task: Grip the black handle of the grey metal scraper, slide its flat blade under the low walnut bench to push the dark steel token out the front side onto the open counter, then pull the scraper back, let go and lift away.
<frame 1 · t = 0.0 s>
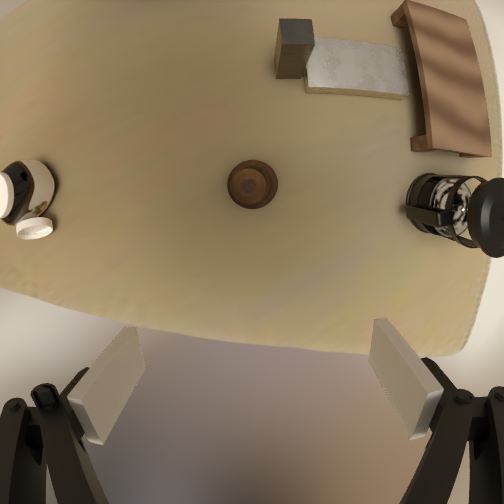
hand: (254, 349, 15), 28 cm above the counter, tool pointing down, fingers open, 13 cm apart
french press: (427, 203, 41), on the counter
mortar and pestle: (253, 184, 41), on the counter
low bench: (434, 83, 36), on the counter
spread jar: (43, 201, 42), on the counter
scraper: (287, 68, 37), on the counter
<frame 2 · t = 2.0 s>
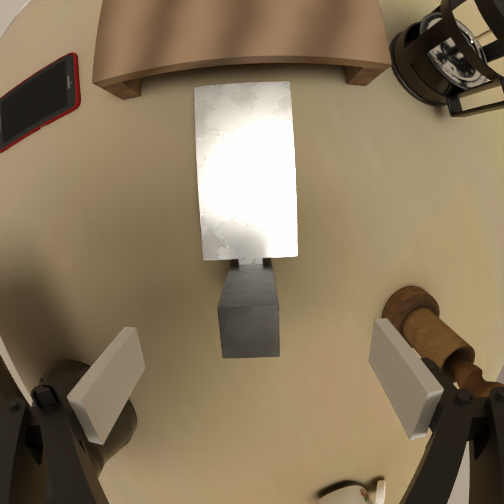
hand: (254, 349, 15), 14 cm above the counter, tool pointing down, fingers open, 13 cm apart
french press: (426, 71, 24), on the counter
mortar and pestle: (406, 313, 30), on the counter
cell phone: (35, 104, 25), on the counter
low bench: (240, 31, 24), on the counter
spread jar: (353, 487, 38), on the counter
scraper: (252, 273, 29), on the counter
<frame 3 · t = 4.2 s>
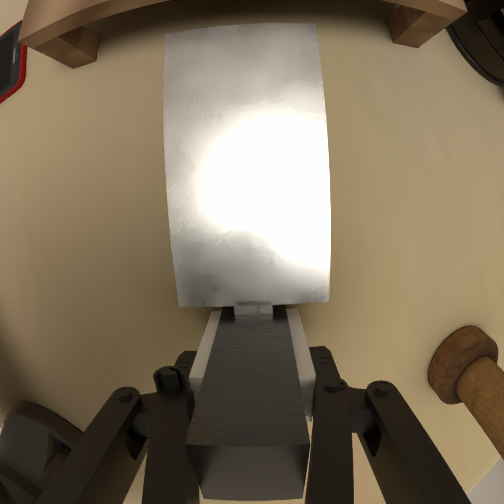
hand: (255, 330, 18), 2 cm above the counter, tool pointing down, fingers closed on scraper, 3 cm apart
french press: (485, 42, 14), on the counter
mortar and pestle: (456, 358, 20), on the counter
scraper: (255, 319, 19), on the counter, touching gripper
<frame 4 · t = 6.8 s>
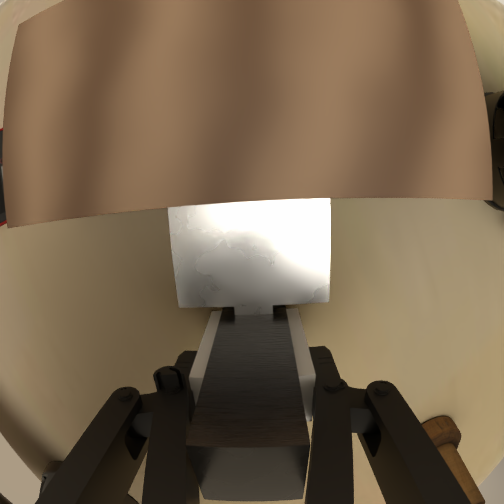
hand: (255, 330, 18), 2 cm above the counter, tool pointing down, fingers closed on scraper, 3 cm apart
french press: (501, 157, 16), on the counter
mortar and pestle: (426, 436, 23), on the counter
low bench: (239, 95, 16), on the counter
scraper: (256, 319, 19), on the counter, touching gripper
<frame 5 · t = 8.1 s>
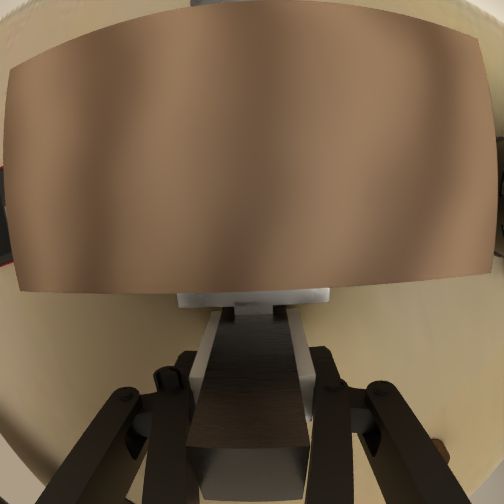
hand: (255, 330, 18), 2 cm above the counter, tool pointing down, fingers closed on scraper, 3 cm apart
low bench: (246, 150, 17), on the counter
scraper: (255, 319, 19), on the counter, touching gripper
when the fingers open (2 cm above the counter, at t = 10.3 s): scraper stays where it is, on the counter.
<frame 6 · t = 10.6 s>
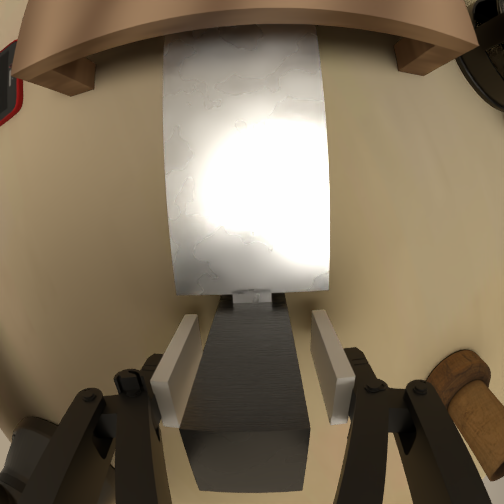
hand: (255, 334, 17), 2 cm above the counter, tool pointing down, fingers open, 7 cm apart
french press: (491, 65, 14), on the counter
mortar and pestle: (450, 379, 21), on the counter
scraper: (254, 309, 19), on the counter
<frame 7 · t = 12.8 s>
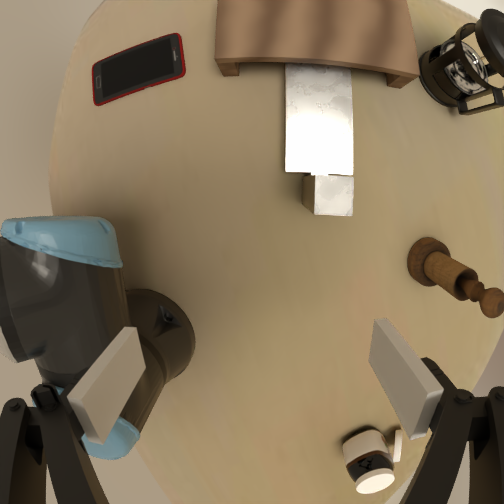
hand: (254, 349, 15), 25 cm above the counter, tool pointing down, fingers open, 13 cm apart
french press: (444, 81, 32), on the counter
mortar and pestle: (425, 259, 38), on the counter
cell phone: (137, 69, 35), on the counter
low bench: (314, 39, 32), on the counter
spread jar: (373, 436, 47), on the counter
scraper: (315, 190, 37), on the counter
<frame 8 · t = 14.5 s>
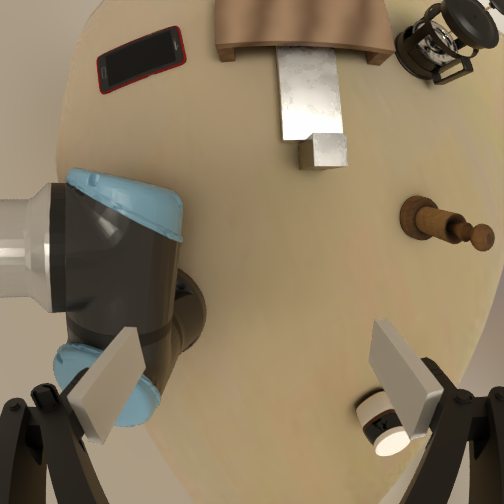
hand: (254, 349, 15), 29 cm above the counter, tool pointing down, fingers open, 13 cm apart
french press: (418, 58, 36), on the counter
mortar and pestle: (416, 216, 42), on the counter
cell phone: (140, 60, 38), on the counter
low bench: (300, 27, 36), on the counter
spread jar: (385, 400, 50), on the counter
scraper: (311, 157, 40), on the counter
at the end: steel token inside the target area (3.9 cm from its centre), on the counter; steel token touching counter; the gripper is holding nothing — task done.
